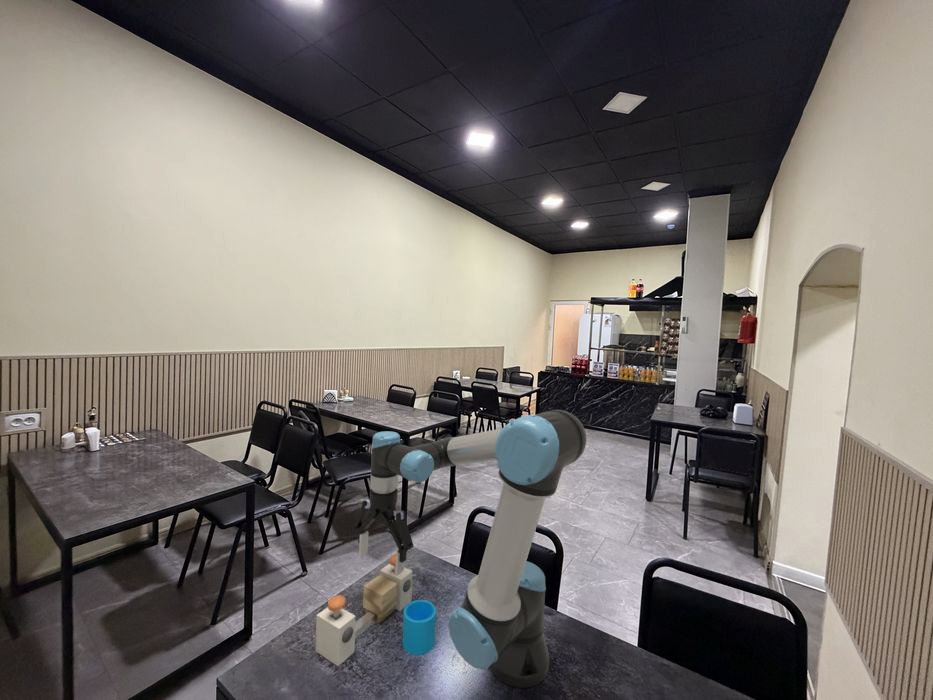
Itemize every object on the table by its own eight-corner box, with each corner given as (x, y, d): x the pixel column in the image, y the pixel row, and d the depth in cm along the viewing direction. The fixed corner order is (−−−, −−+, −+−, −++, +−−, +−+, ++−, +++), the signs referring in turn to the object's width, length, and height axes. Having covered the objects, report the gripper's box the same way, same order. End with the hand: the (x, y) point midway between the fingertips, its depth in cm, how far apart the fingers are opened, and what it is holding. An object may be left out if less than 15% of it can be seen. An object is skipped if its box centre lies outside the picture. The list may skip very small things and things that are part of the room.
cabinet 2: (412, 601, 113) (413, 571, 112) (400, 611, 108) (402, 580, 108) (390, 591, 117) (391, 562, 117) (379, 600, 113) (380, 570, 112)
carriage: (396, 611, 108) (397, 583, 108) (381, 624, 103) (382, 595, 103) (378, 601, 112) (379, 574, 111) (362, 614, 106) (363, 585, 106)
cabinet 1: (355, 652, 94) (356, 616, 94) (338, 667, 90) (340, 629, 89) (332, 637, 98) (333, 603, 98) (315, 651, 94) (316, 615, 93)
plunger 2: (405, 574, 113) (406, 557, 113) (396, 581, 110) (397, 563, 110) (395, 569, 115) (396, 552, 115) (386, 576, 112) (387, 559, 112)
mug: (429, 658, 93) (430, 625, 93) (397, 651, 95) (398, 619, 94) (442, 622, 105) (443, 593, 105) (413, 617, 106) (414, 588, 106)
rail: (392, 607, 110) (392, 600, 110) (346, 646, 95) (346, 639, 95) (386, 603, 111) (386, 597, 111) (339, 642, 97) (339, 634, 97)
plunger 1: (348, 619, 94) (348, 599, 94) (334, 630, 91) (335, 608, 91) (336, 613, 96) (337, 593, 96) (323, 623, 93) (324, 602, 93)
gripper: (428, 495, 103) (424, 572, 104) (361, 474, 116) (358, 543, 117) (410, 505, 97) (407, 587, 97) (342, 481, 109) (339, 554, 110)
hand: (380, 563), depth 107 cm, fingers open, 13 cm apart
